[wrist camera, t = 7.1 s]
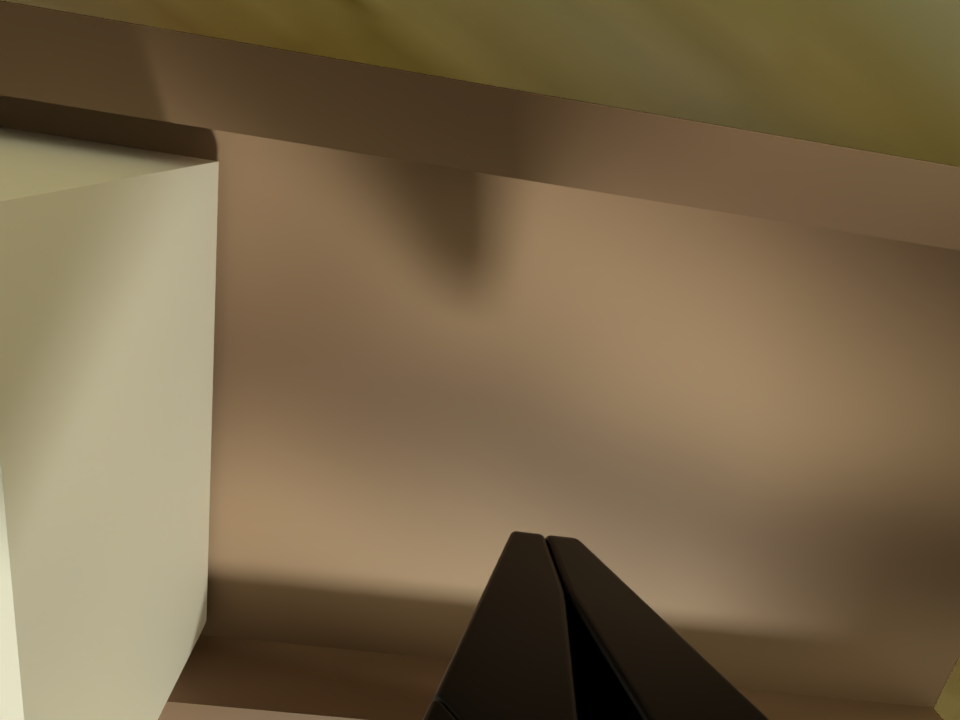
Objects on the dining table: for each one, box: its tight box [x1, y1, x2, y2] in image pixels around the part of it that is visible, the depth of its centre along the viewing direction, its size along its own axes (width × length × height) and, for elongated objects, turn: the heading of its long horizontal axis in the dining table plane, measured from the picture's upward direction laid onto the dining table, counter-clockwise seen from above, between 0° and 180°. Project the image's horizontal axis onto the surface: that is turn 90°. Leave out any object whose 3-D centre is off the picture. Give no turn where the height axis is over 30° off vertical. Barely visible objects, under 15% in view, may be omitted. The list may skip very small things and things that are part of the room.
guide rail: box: [0, 1, 960, 720], centre depth 10 cm, size 11×23×5 cm, turn 81°
